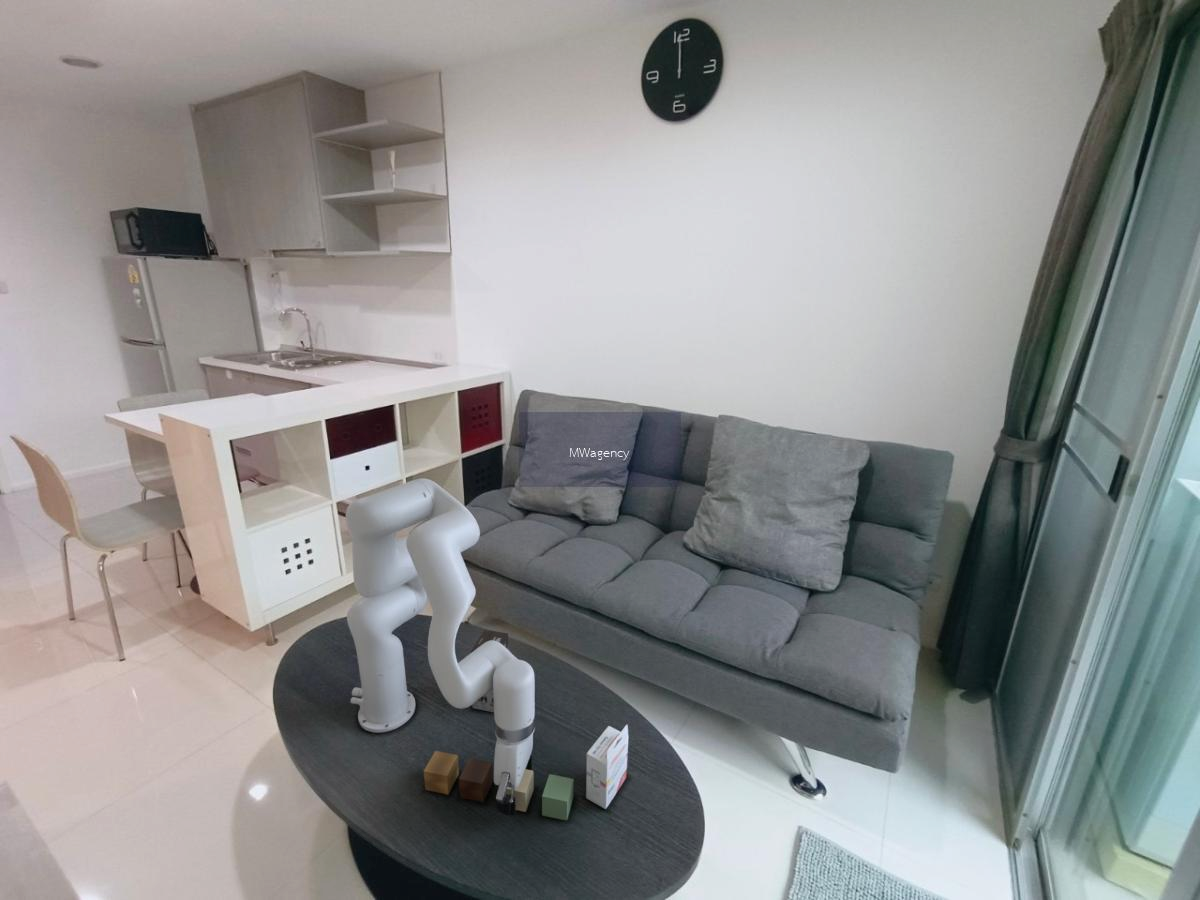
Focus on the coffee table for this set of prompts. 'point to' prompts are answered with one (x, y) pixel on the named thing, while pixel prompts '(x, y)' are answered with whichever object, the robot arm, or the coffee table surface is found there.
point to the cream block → (523, 790)
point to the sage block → (557, 797)
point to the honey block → (441, 772)
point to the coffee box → (488, 699)
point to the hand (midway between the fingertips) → (516, 790)
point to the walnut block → (476, 779)
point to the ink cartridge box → (607, 766)
